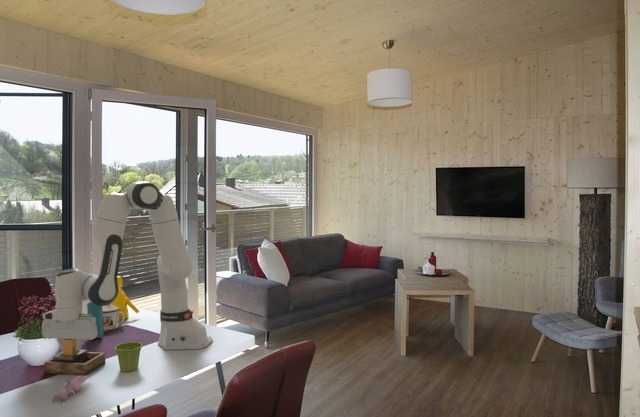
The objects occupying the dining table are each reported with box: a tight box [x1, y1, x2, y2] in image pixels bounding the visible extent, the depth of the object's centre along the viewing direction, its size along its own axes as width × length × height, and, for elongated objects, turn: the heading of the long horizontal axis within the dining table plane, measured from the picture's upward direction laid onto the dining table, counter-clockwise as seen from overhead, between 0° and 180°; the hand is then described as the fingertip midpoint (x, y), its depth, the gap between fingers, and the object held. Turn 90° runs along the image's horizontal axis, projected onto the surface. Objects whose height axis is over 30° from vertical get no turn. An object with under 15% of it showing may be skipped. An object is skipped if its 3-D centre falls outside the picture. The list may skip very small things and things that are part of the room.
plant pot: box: [114, 341, 143, 373], centre depth 176 cm, size 9×9×9 cm
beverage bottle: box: [86, 301, 104, 338], centre depth 210 cm, size 6×7×20 cm
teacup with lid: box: [102, 304, 125, 331], centre depth 226 cm, size 12×9×12 cm
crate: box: [43, 351, 106, 376], centre depth 177 cm, size 16×12×4 cm
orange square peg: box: [62, 339, 78, 356], centre depth 177 cm, size 4×4×11 cm
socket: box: [52, 349, 88, 363], centre depth 177 cm, size 8×8×4 cm
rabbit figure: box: [51, 375, 89, 404], centre depth 156 cm, size 6×6×15 cm
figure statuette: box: [111, 275, 140, 321], centre depth 241 cm, size 18×8×22 cm, turn 85°
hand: (70, 350), depth 177 cm, fingers open, 4 cm apart
